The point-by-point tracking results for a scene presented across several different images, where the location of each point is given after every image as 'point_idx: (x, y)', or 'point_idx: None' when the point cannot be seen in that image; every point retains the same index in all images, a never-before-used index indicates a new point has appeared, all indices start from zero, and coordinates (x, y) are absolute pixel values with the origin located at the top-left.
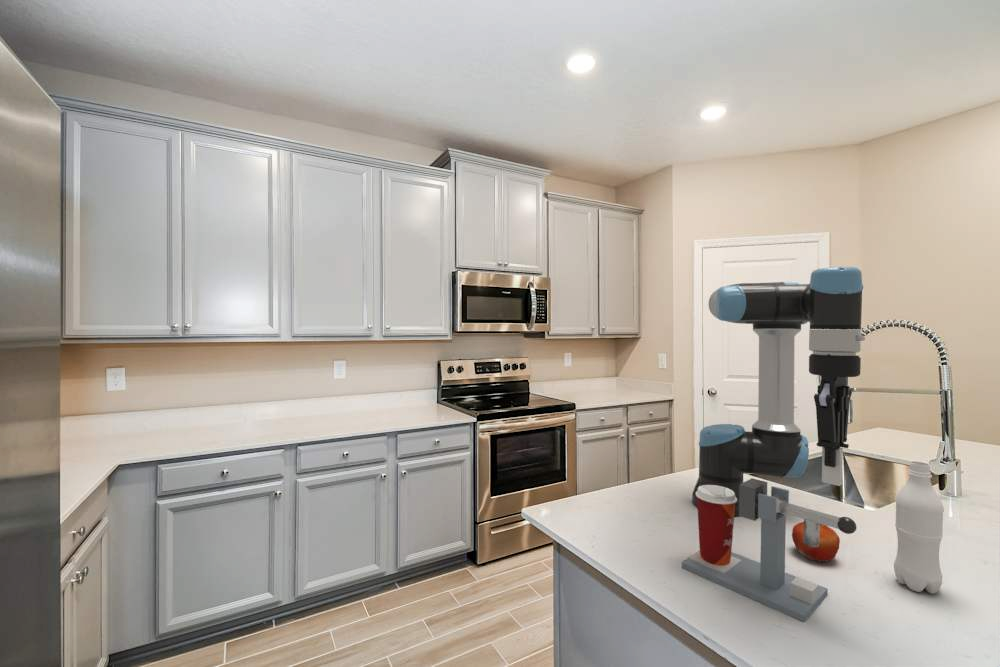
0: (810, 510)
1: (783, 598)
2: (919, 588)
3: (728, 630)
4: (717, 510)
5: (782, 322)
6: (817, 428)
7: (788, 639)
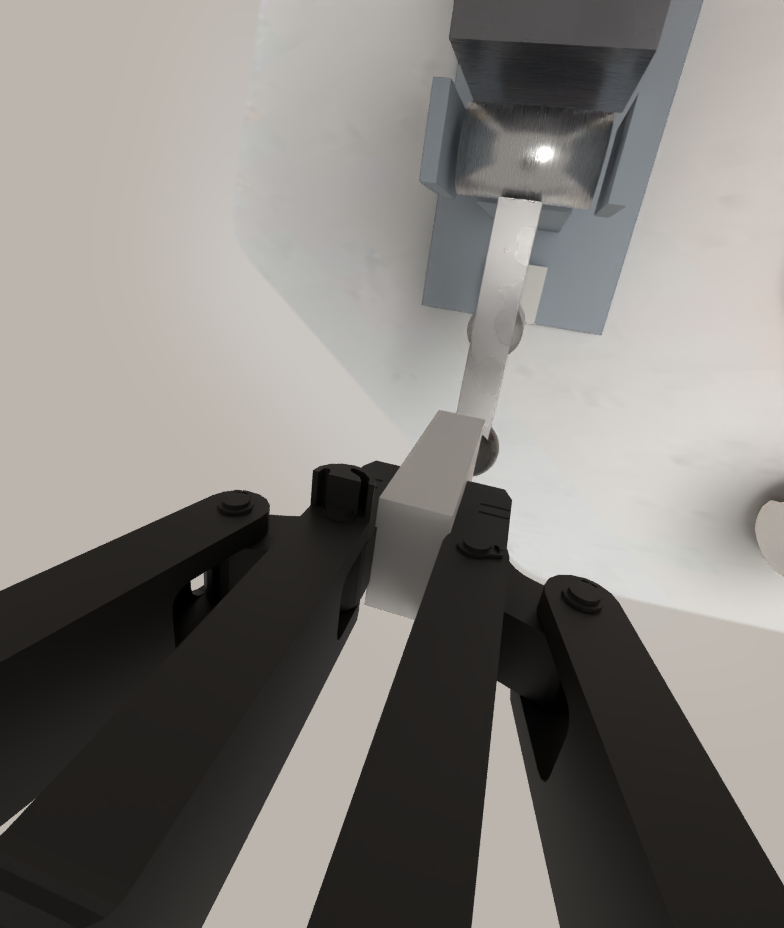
0: (495, 329)
1: (467, 249)
2: (755, 523)
3: (279, 175)
4: None
5: None
6: (57, 565)
7: (339, 287)
